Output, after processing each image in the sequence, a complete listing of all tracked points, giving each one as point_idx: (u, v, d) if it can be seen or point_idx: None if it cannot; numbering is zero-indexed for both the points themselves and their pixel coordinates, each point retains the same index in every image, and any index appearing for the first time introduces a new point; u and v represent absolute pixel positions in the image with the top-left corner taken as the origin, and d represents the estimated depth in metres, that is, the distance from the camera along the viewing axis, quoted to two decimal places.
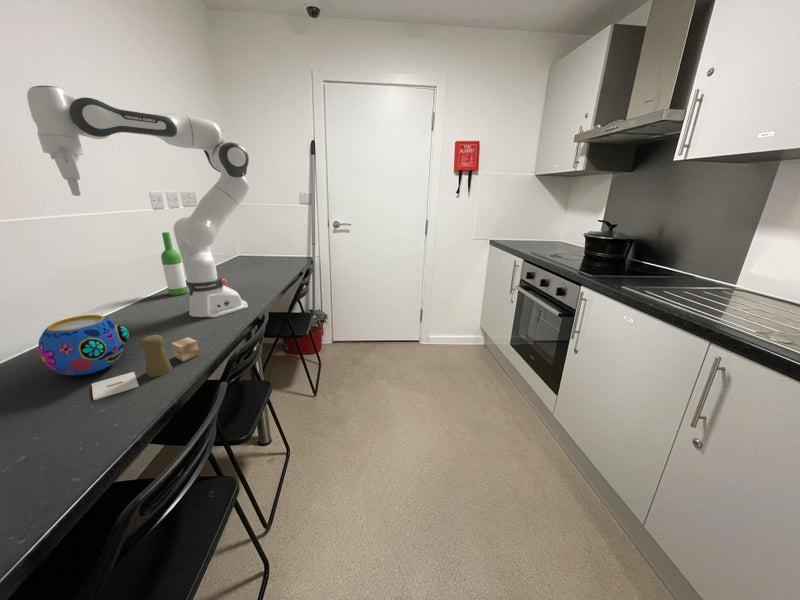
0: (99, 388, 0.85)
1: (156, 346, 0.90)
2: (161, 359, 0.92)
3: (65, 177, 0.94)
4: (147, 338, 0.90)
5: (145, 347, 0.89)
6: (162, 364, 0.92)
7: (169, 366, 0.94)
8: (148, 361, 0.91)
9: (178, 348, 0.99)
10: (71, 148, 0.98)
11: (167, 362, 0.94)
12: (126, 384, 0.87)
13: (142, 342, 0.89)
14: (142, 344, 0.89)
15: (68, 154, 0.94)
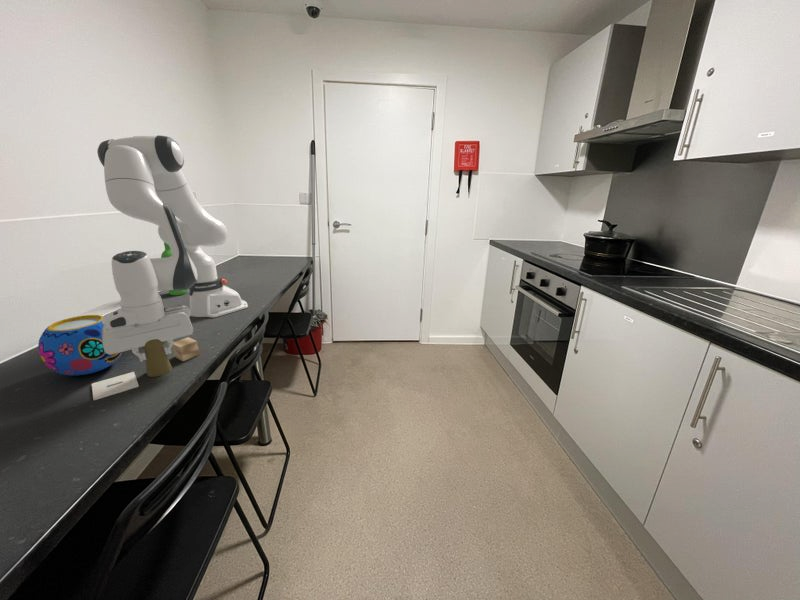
0: (99, 388, 0.85)
1: (156, 346, 0.90)
2: (161, 359, 0.92)
3: (192, 332, 0.97)
4: None
5: (145, 347, 0.89)
6: (162, 364, 0.92)
7: (169, 366, 0.94)
8: (148, 361, 0.91)
9: (178, 348, 0.99)
10: None
11: (167, 362, 0.94)
12: (126, 384, 0.87)
13: None
14: None
15: None
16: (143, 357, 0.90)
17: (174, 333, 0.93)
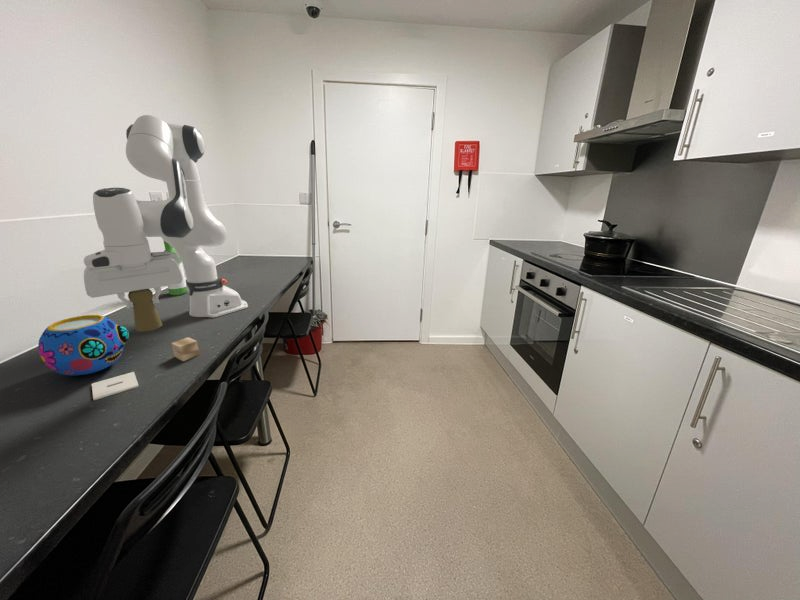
0: (99, 388, 0.85)
1: (144, 299, 0.86)
2: (150, 313, 0.87)
3: None
4: None
5: (133, 299, 0.85)
6: (152, 319, 0.88)
7: (159, 322, 0.90)
8: (136, 315, 0.86)
9: (178, 348, 0.99)
10: None
11: (157, 317, 0.89)
12: (126, 384, 0.87)
13: (129, 294, 0.85)
14: (129, 296, 0.85)
15: None
16: (130, 304, 0.85)
17: (162, 280, 0.88)
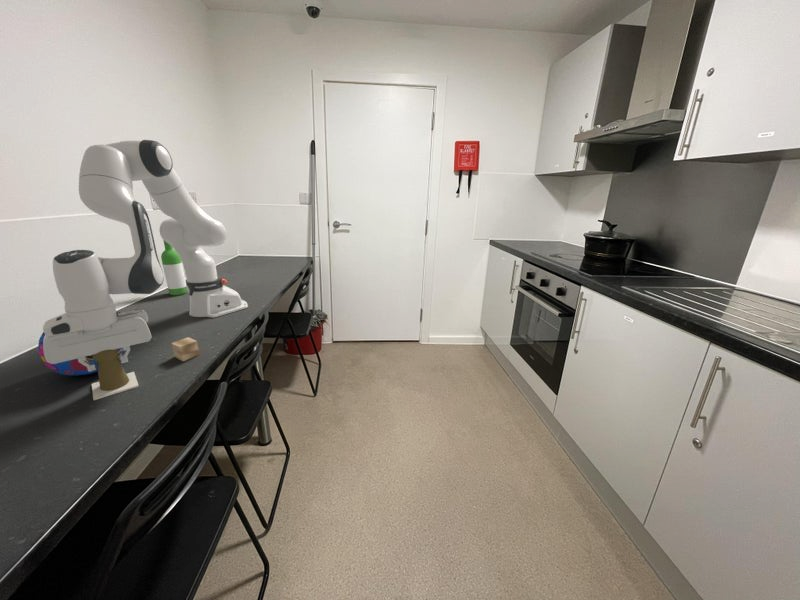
0: (99, 388, 0.85)
1: (108, 358, 0.83)
2: (115, 372, 0.84)
3: (150, 338, 0.89)
4: None
5: (96, 358, 0.82)
6: (117, 377, 0.85)
7: (125, 379, 0.87)
8: (100, 374, 0.83)
9: (178, 348, 0.99)
10: None
11: (122, 374, 0.86)
12: (126, 384, 0.87)
13: None
14: (93, 355, 0.82)
15: None
16: (91, 367, 0.82)
17: (129, 340, 0.85)
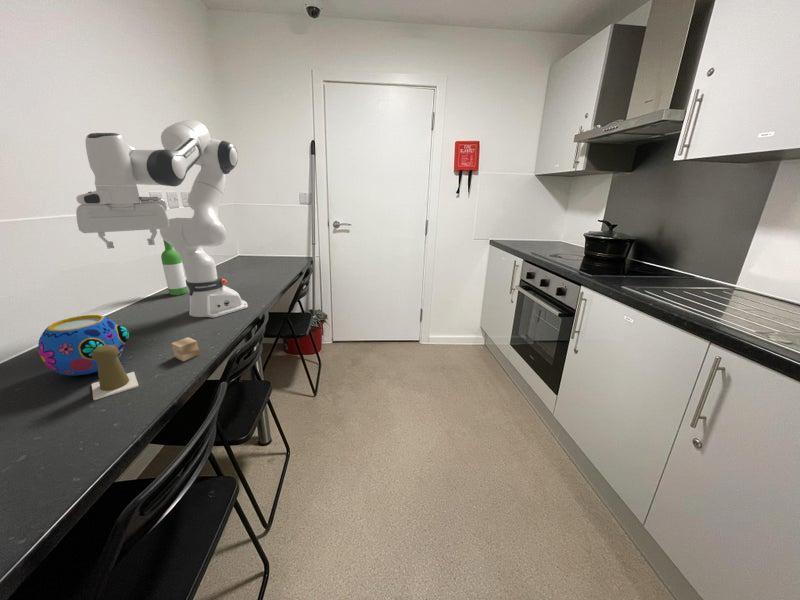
0: (99, 388, 0.85)
1: (108, 358, 0.83)
2: (115, 372, 0.84)
3: (168, 226, 0.98)
4: (99, 349, 0.83)
5: (96, 358, 0.82)
6: (117, 377, 0.85)
7: (125, 379, 0.87)
8: (100, 374, 0.83)
9: (178, 348, 0.99)
10: None
11: (122, 374, 0.86)
12: (126, 384, 0.87)
13: (93, 353, 0.82)
14: (93, 355, 0.82)
15: None
16: (110, 244, 0.91)
17: (150, 223, 0.95)
